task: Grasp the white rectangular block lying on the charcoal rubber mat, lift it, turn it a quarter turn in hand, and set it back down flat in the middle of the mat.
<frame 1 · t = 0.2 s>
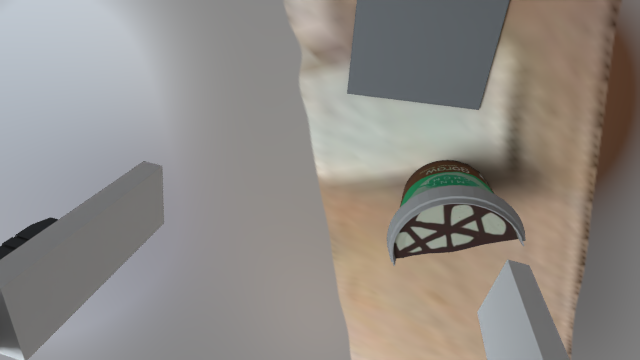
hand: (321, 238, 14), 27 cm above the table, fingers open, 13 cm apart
food container: (439, 175, 42), on the table
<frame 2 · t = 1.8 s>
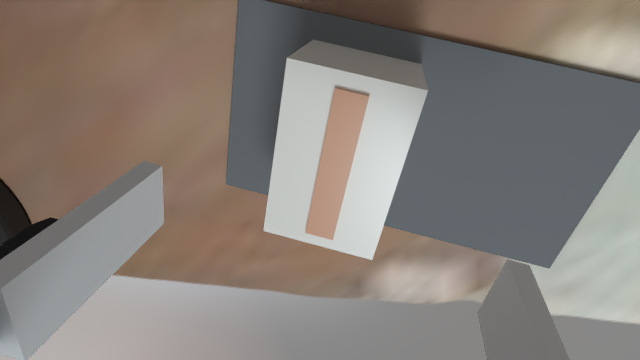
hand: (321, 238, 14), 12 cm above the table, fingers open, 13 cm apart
mat: (408, 142, 25), on the table
white rectangular block: (348, 129, 25), resting on mat
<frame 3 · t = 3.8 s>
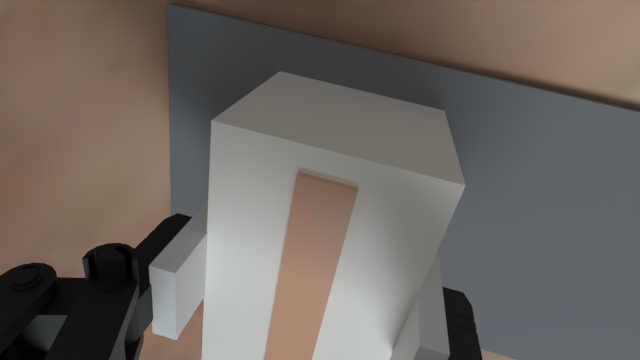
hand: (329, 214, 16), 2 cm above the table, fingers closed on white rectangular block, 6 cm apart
mat: (422, 216, 17), on the table
white rectangular block: (334, 198, 17), resting on mat, touching gripper
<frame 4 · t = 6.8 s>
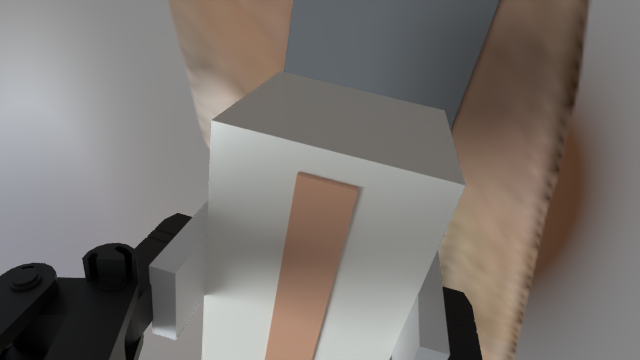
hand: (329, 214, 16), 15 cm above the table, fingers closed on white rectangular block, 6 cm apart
mat: (364, 109, 29), on the table
white rectangular block: (334, 197, 17), point 14 cm above the table, touching gripper
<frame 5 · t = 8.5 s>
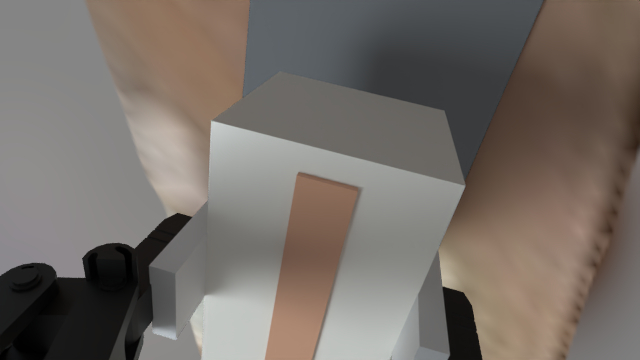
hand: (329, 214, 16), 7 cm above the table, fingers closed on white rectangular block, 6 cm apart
mat: (350, 147, 22), on the table
white rectangular block: (334, 198, 17), point 5 cm above the table, touching gripper
when the fingers open (3 cm above the table, at t = 9.9 s): white rectangular block drops 2 cm, resting on mat.
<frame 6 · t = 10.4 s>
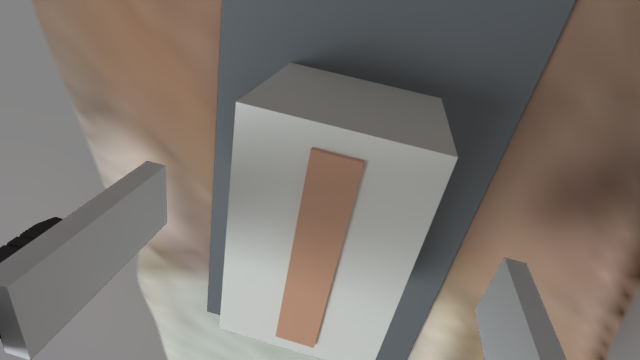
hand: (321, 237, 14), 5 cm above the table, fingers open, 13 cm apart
mat: (341, 177, 19), on the table
white rectangular block: (340, 181, 18), resting on mat
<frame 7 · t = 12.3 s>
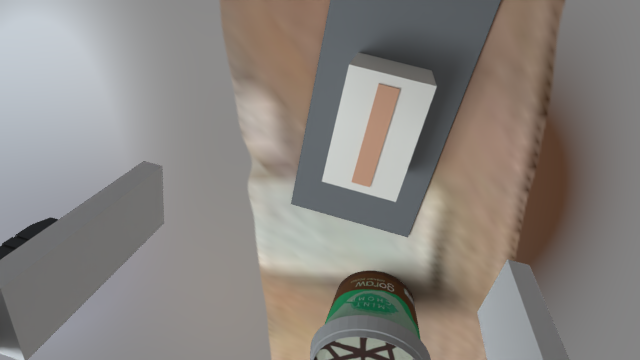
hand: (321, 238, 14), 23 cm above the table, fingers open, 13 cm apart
mat: (379, 114, 35), on the table
white rectangular block: (378, 115, 35), resting on mat
food container: (370, 282, 45), on the table
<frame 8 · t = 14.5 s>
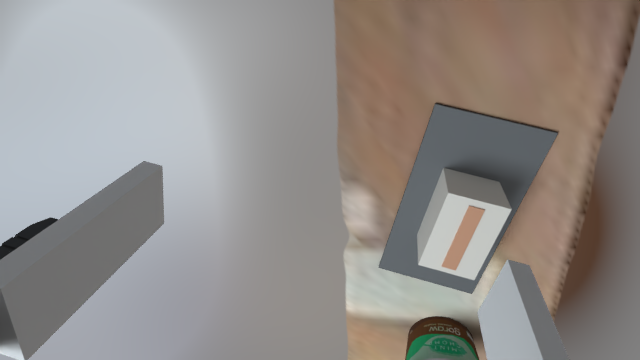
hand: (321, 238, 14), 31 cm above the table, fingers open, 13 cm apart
mat: (455, 208, 47), on the table
white rectangular block: (455, 209, 46), resting on mat
food container: (437, 324, 56), on the table
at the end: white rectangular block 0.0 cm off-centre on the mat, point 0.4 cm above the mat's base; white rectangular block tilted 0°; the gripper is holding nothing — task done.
